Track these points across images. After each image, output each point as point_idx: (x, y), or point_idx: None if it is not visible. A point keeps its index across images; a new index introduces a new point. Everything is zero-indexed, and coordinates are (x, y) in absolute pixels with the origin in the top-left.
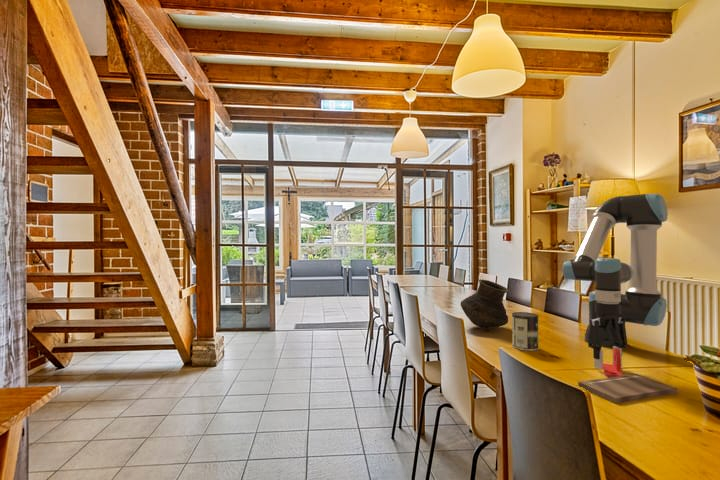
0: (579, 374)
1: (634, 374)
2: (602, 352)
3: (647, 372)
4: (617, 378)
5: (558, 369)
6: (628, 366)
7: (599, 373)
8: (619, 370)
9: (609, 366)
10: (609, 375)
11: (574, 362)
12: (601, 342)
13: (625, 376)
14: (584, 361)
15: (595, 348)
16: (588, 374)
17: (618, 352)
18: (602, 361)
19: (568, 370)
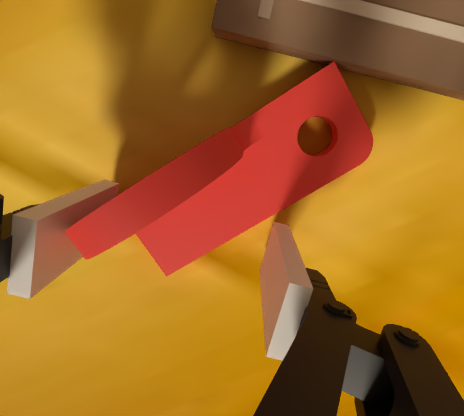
0: (452, 269)
1: (240, 24)
2: (293, 275)
3: (13, 53)
4: (452, 50)
5: (461, 373)
6: (12, 180)
7: (324, 214)
8: (241, 132)
9: (188, 221)
10: (370, 138)
11: (246, 383)
12: (321, 352)
13: (349, 39)
14: (173, 363)
15: (407, 329)
16: (405, 241)
17: (192, 167)
18: (283, 242)
19: (430, 336)
